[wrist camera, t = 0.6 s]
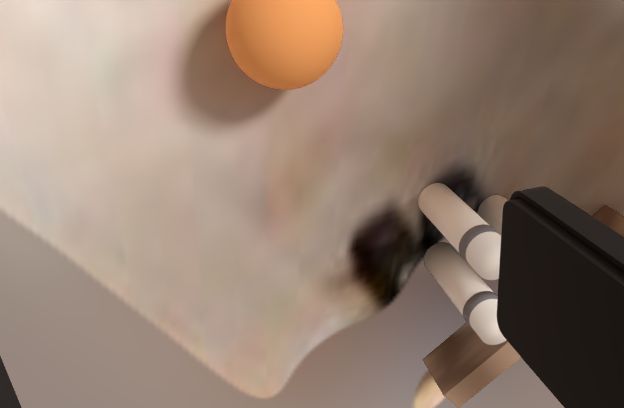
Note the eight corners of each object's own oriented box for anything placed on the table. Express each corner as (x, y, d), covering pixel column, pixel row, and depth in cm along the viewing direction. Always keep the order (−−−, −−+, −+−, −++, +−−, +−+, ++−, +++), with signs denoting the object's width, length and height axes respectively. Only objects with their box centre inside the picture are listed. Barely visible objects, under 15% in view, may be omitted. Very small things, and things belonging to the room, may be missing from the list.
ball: (277, -61, 31) (299, -60, 25) (348, 24, 33) (381, 41, 28) (198, 20, 32) (203, 37, 26) (273, 96, 34) (291, 127, 29)
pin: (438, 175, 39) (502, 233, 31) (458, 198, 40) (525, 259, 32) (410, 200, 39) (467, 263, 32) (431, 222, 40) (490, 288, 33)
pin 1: (443, 235, 41) (504, 303, 34) (462, 255, 42) (525, 325, 35) (416, 258, 41) (470, 330, 34) (435, 278, 42) (492, 352, 35)
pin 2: (497, 187, 40) (572, 245, 33) (515, 209, 41) (592, 270, 34) (470, 211, 41) (537, 274, 33) (488, 232, 42) (558, 298, 34)
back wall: (605, 205, 43) (644, 229, 40) (616, 221, 44) (656, 246, 40) (422, 359, 46) (443, 395, 42) (436, 372, 46) (458, 408, 43)
